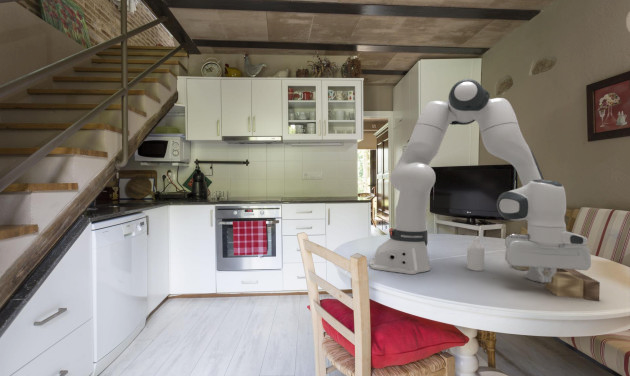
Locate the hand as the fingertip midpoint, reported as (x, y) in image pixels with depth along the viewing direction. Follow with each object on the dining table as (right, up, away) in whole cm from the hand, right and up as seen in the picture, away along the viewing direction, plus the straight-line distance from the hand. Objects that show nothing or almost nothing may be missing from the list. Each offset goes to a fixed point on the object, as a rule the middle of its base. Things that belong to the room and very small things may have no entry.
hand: (545, 282), depth 86 cm
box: (+8, -2, +23) cm, 24 cm away
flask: (+6, -3, +10) cm, 12 cm away
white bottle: (-8, -2, +22) cm, 24 cm away
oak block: (+4, -3, -1) cm, 5 cm away
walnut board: (+10, -3, +3) cm, 11 cm away
